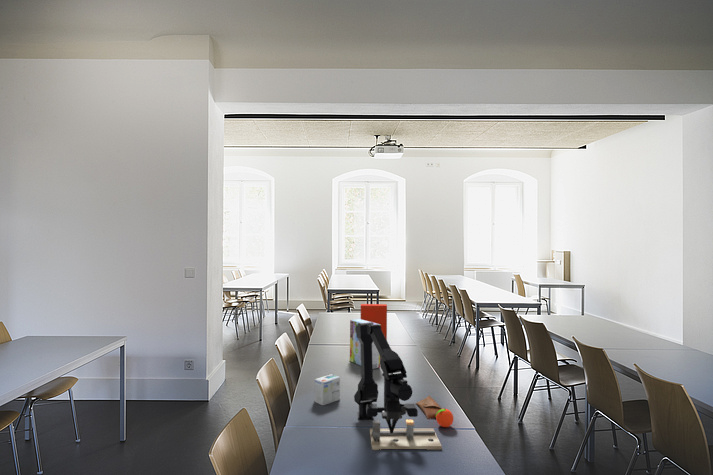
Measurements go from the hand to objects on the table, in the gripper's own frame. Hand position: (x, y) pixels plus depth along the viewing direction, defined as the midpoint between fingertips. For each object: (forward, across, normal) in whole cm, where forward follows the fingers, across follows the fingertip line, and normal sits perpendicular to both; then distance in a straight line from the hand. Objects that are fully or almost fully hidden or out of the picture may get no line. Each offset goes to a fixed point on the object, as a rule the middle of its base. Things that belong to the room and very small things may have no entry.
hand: (391, 433), depth 153 cm
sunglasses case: (+4, +20, +28) cm, 34 cm away
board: (+3, +5, +1) cm, 6 cm away
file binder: (+3, +1, +120) cm, 120 cm away
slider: (+2, +7, 0) cm, 7 cm away
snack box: (+3, -6, +95) cm, 95 cm away
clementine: (+3, +22, +12) cm, 25 cm away
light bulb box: (+3, -26, +39) cm, 47 cm away
